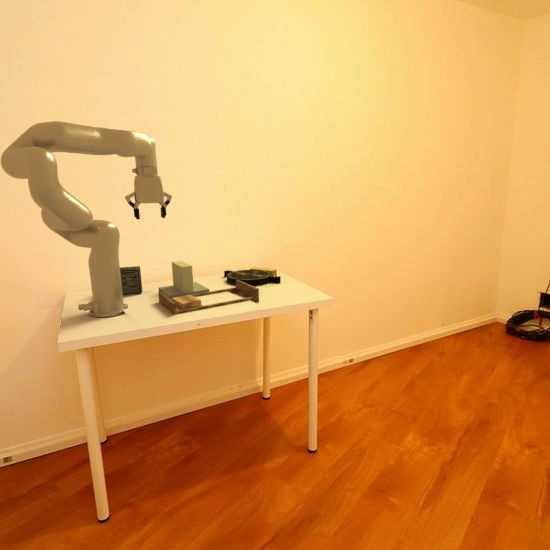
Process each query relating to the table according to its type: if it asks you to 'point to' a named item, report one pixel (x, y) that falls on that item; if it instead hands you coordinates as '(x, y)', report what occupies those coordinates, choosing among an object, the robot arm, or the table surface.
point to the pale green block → (182, 276)
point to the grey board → (174, 292)
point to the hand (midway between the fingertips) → (150, 218)
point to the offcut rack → (240, 288)
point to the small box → (131, 280)
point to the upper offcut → (186, 301)
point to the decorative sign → (253, 276)
